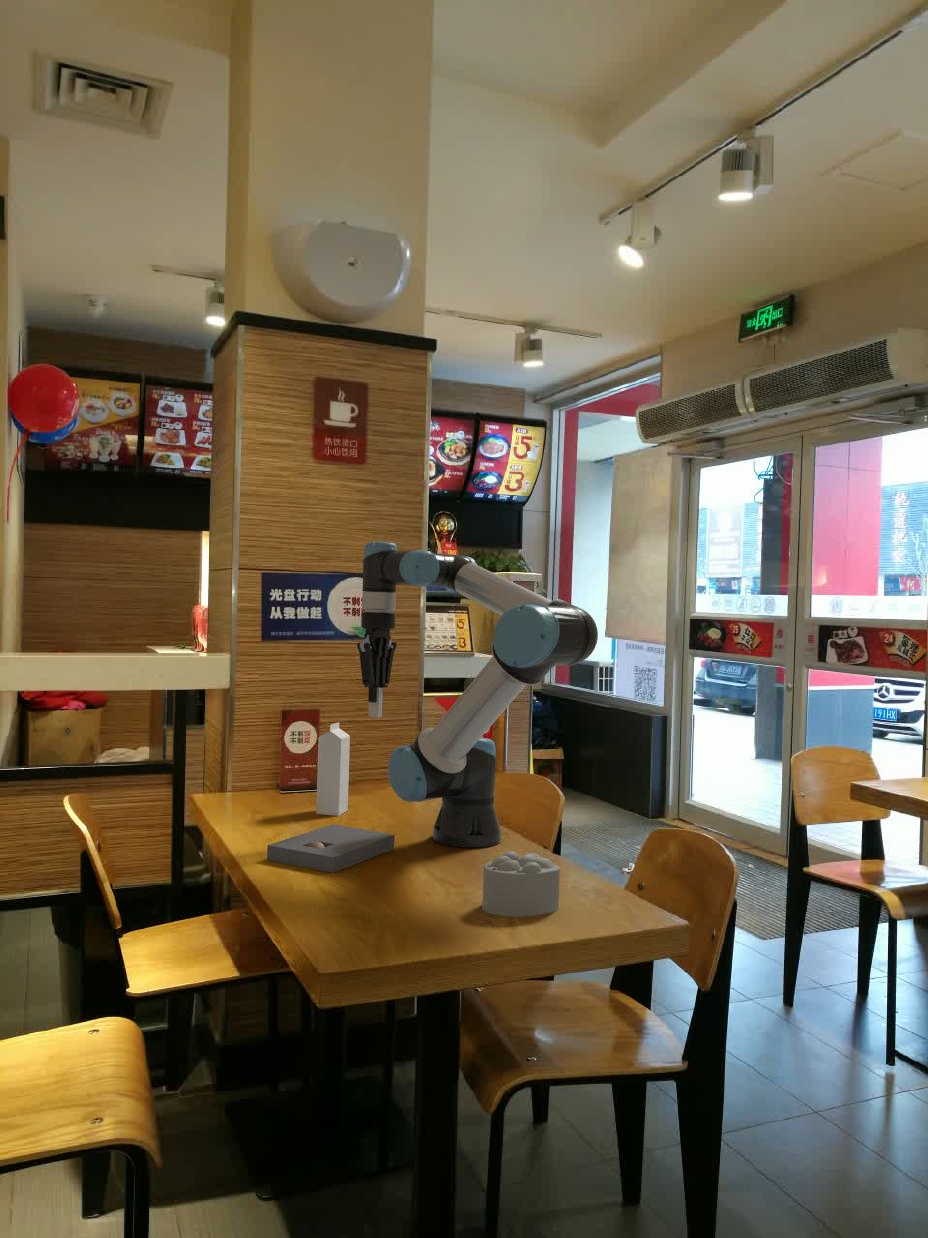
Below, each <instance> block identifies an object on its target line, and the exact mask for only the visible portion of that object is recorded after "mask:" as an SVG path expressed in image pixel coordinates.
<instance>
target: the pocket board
mask: <svg viewBox="0 0 928 1238" xmlns="http://www.w3.org/2000/svg"><path fill="white" fill-rule="evenodd" d="M395 839H396V838H395V834H393V833H388V832H379V831H376V830H375V831H374V830H370V829H369V830H368V829H362V828H357V827H351V826H346V825H345V826H343V825H337V824H330V825H327V826H323V827H320V828H317V829H313V830H310V831H308V832H304V833H301V834H298V835H295V836H292V837H289V838H286V839H283V840H280V841H277V842H273V843H270V844H269V843H268V844H267V847H266V849H267V850H266V860H267V861H269V862H274V863H278V864H279V863H280V864H285V865H290V866H294V867H295V866H296V867H300V868H306V869H311V870H316V871H322V872H326V873H331V874H334V873H336V872H339V871H343V870H344V869H347V868H350V867H352V866H354V865H356V864H357V865H358V864H359V863H361V862H365V861H367V860H370V859H371V858H374V856H375V857H377V856H379V855H382V854H385V853H387V852H389V851H392V850H394V849H395ZM315 841H318V842H321V843H322V844H323V845H324V847H325V848H322V849H319V848H314V847H308V846H309V844H311V843H312V842H315Z"/></svg>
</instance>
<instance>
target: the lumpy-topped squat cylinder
mask: <svg viewBox="0 0 928 1238" xmlns="http://www.w3.org/2000/svg"><path fill="white" fill-rule="evenodd" d="M560 876H561V867H560V866H558V865H557V864H555V863H553V862H552V861H551V860H550V859H548V858H545V857H542V856H540V855H539V854H538V853H534V852H530V853H527V854H526V853H525V854H524V855H521V856H519V855H518V853H517V852H515V851H513V850H509V851H505V852H504V853H502V854H501V855H499V856H497V857H496V858H494V859H493V860H491V861H489V862H487V863H485V865H484V866H483V877H482V878H483V880H482V905H481V906H482V910H483V911H484V912H485V913H488V914H491V915H496V916H502V917H515V918H517V917H519V918H524V917H535V916H542V915H548V914H553V913H556V912H557V911H558V912H559V909H560V908H559V907H560V885H561V884H560V883H561V881H560V879H561V877H560Z"/></svg>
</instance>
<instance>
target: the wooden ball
mask: <svg viewBox="0 0 928 1238" xmlns="http://www.w3.org/2000/svg"><path fill="white" fill-rule="evenodd" d="M308 847H314V848H319V849H322V848H325V847H324V845H323V844H322V843H321V842H318V841H315V842H312V843H311V844H309V846H308Z"/></svg>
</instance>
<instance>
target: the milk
mask: <svg viewBox="0 0 928 1238" xmlns="http://www.w3.org/2000/svg"><path fill="white" fill-rule="evenodd" d="M350 743H351V736H350V734H348V733H346V732H345V731H344V730H343V729H341V728H340V722H335V723H331V724H330V725H329V731H327V732H325V733H324V734H321V735H320V736H319V737H318V743H317V744H318V745H317V773H316V775H317V777H316V801H315V802H316V804H315V805H316V807H315V809H316V810H315V813H316V815H326V816H336V817H340V816H341V815H343V814H345V813H346V811H347V810H348V808H349V807H348V805H349V803H348V802H349V774H350V770H349V769H350V745H351V744H350ZM344 812H345V813H344ZM347 812H348V811H347ZM342 813H343V814H342Z"/></svg>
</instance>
